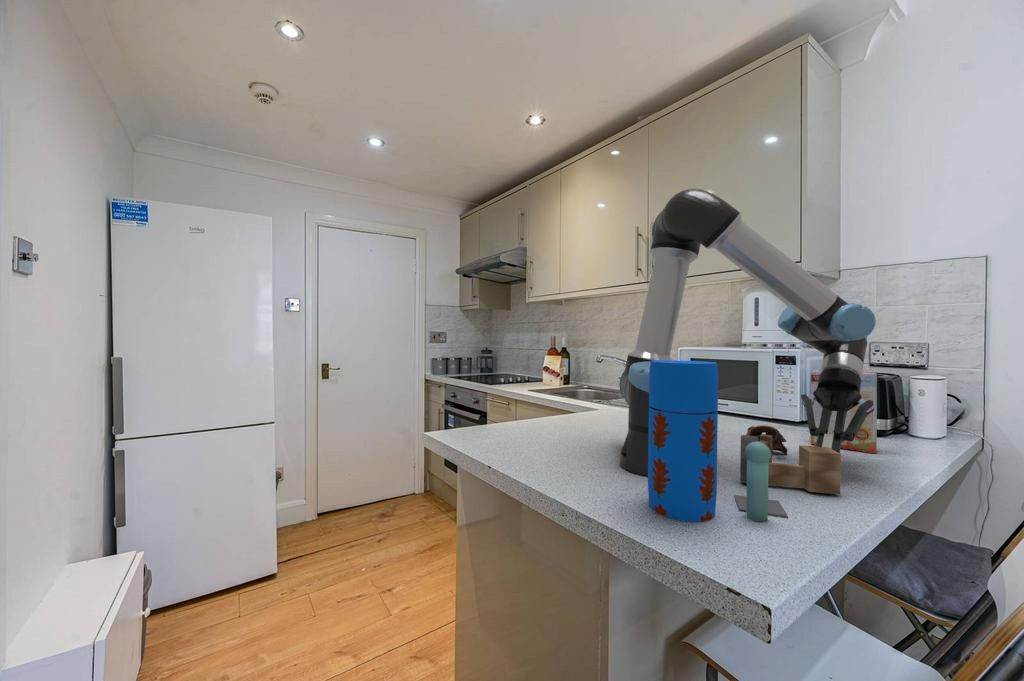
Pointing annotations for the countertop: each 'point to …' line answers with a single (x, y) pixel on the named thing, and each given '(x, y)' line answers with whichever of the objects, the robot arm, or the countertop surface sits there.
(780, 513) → the pad
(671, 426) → the thermos
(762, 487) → the post
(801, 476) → the wooden u-shaped block
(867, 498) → the countertop surface
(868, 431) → the cracker box
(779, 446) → the pottery mug
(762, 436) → the fence
